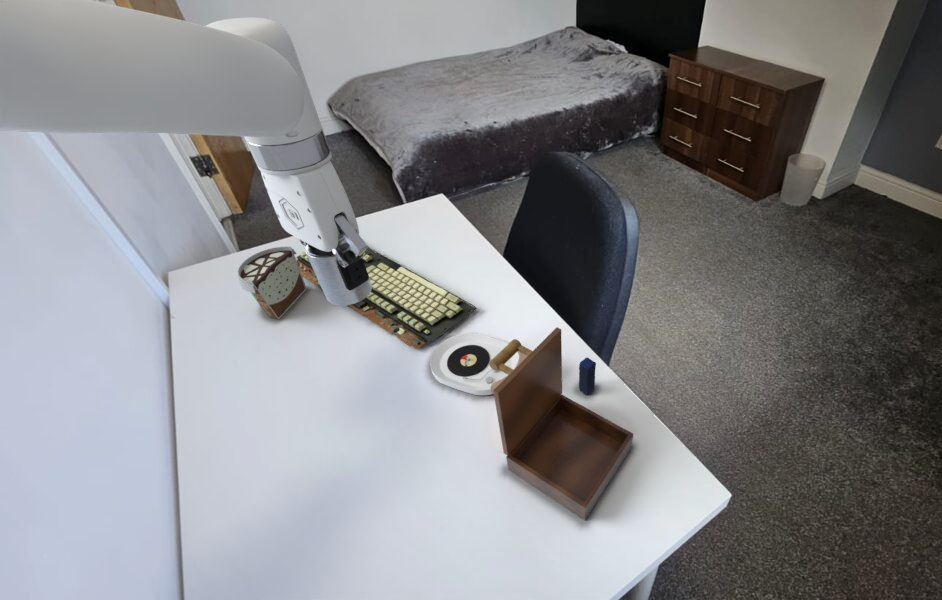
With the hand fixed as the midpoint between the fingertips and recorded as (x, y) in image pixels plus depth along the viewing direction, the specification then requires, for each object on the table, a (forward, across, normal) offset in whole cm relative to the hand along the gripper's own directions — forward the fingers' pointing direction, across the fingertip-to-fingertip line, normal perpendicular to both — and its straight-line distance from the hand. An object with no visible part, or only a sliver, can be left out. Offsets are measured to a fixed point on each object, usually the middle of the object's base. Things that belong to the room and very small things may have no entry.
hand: (341, 274), depth 64 cm
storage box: (+23, +34, +6) cm, 42 cm away
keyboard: (+24, -22, +16) cm, 36 cm away
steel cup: (+3, 0, 0) cm, 3 cm away
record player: (+24, +12, +12) cm, 29 cm away
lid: (+12, +28, +6) cm, 31 cm away
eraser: (+24, +29, +18) cm, 41 cm away
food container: (+24, -34, +2) cm, 41 cm away
